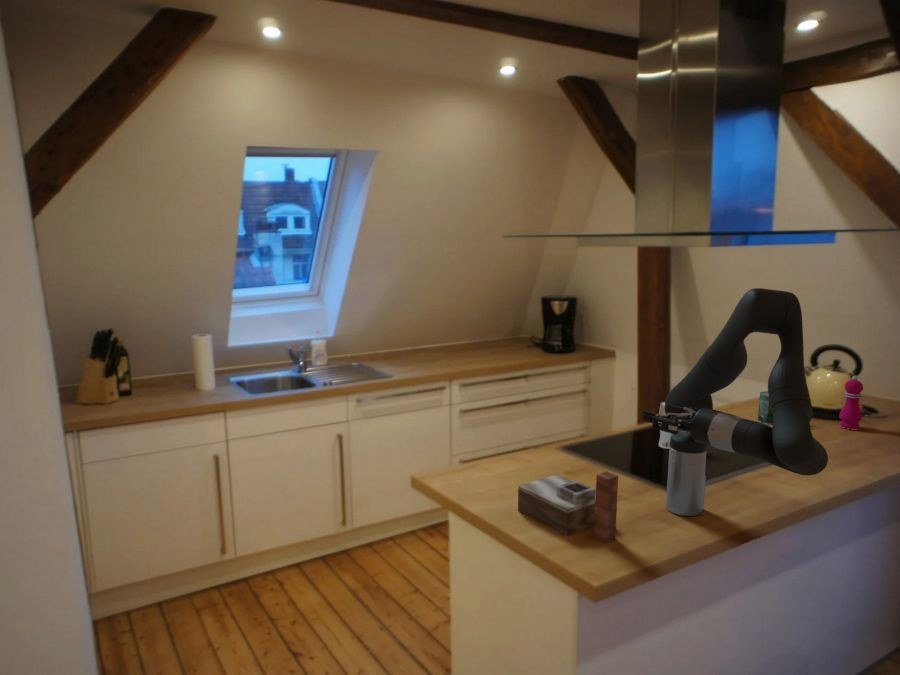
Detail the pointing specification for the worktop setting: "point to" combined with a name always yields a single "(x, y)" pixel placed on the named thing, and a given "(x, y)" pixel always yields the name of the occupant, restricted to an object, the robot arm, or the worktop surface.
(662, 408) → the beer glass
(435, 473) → the worktop surface
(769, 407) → the canned tomato
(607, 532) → the wooden key
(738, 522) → the worktop surface
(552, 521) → the gray socket block
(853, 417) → the pepper mill
